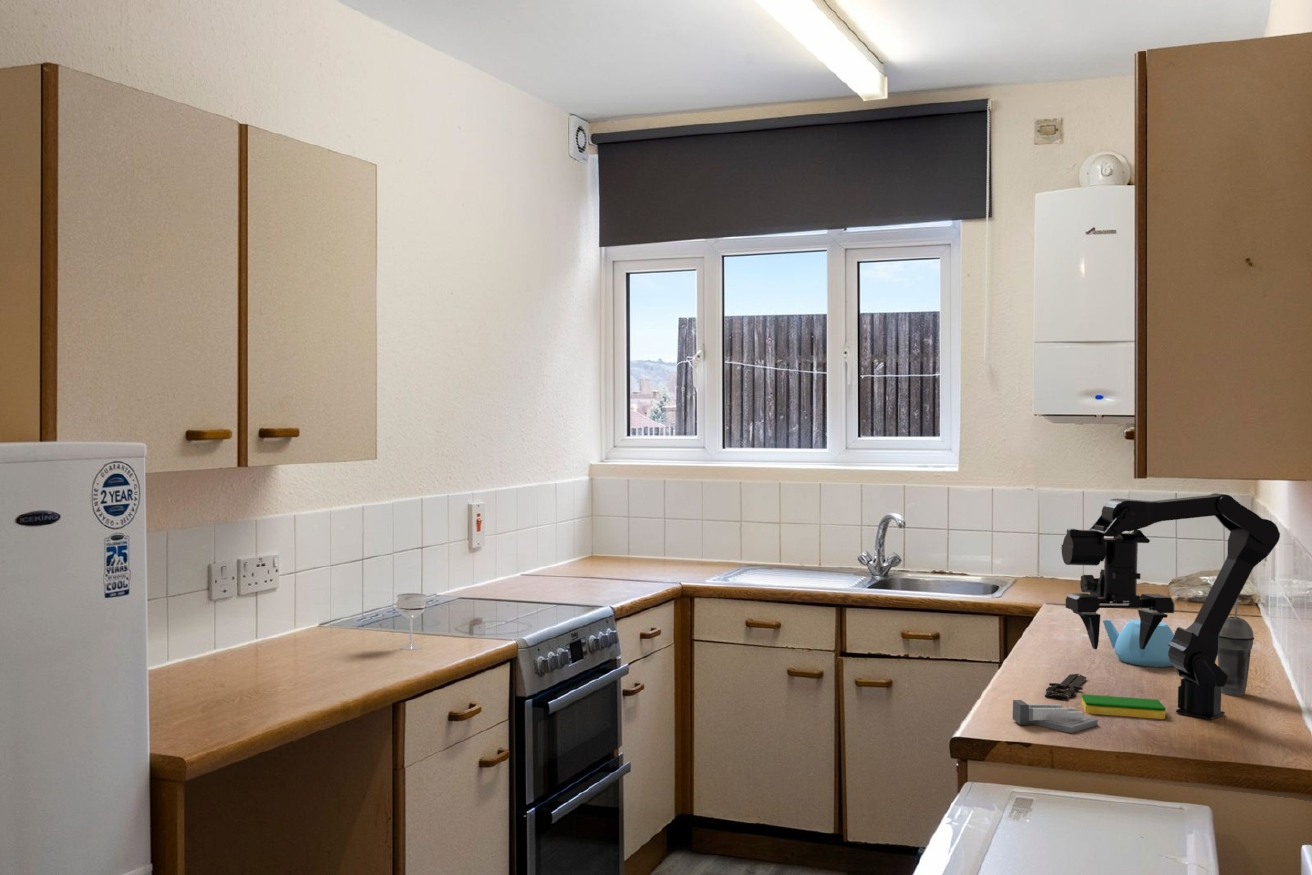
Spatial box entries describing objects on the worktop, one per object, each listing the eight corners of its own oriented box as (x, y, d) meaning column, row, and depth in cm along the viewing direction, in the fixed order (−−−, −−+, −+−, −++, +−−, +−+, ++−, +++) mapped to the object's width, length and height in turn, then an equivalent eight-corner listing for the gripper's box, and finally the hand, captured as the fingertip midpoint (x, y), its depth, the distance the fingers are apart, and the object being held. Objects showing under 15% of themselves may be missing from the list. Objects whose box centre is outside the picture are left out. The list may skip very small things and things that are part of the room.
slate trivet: (1097, 725, 203) (1097, 719, 203) (1070, 733, 197) (1070, 727, 197) (1052, 714, 210) (1052, 708, 210) (1024, 721, 204) (1025, 716, 204)
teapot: (1098, 654, 267) (1099, 609, 267) (1159, 654, 269) (1160, 609, 268) (1132, 669, 252) (1133, 620, 252) (1195, 668, 253) (1197, 620, 253)
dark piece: (1071, 676, 245) (1071, 670, 245) (1102, 681, 241) (1102, 674, 241) (1035, 698, 224) (1035, 691, 224) (1068, 703, 221) (1068, 696, 221)
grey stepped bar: (1020, 705, 201) (1083, 705, 202) (1012, 699, 205) (1074, 699, 206) (1020, 724, 201) (1083, 724, 202) (1012, 718, 205) (1074, 718, 206)
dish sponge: (1165, 721, 208) (1165, 708, 208) (1085, 715, 212) (1086, 702, 212) (1158, 711, 215) (1158, 699, 215) (1081, 706, 219) (1081, 693, 219)
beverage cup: (1247, 690, 233) (1249, 593, 232) (1257, 698, 226) (1260, 598, 225) (1208, 687, 234) (1211, 591, 234) (1217, 695, 227) (1220, 596, 227)
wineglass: (397, 644, 263) (398, 593, 263) (427, 644, 264) (427, 593, 263) (393, 650, 256) (394, 597, 256) (423, 650, 257) (424, 597, 257)
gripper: (1146, 561, 221) (1144, 640, 221) (1053, 560, 219) (1051, 640, 219) (1177, 568, 210) (1174, 652, 210) (1080, 567, 208) (1077, 652, 208)
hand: (1118, 648), depth 212 cm, fingers open, 9 cm apart
